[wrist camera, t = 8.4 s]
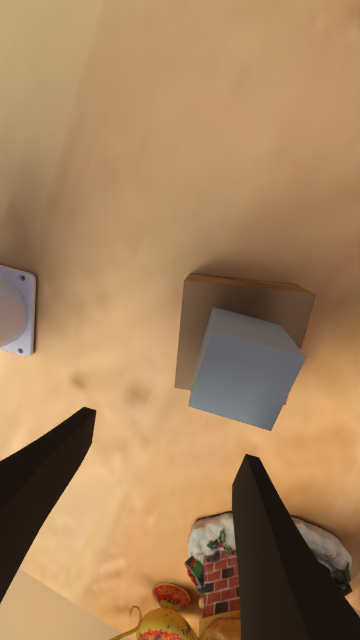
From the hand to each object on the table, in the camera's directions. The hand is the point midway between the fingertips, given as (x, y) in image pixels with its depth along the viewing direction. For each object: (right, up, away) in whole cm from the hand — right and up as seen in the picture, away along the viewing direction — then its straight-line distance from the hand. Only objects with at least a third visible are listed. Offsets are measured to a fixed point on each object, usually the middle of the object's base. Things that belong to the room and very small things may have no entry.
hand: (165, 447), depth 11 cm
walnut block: (+5, +5, +9) cm, 11 cm away
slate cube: (+4, +4, +5) cm, 8 cm away
